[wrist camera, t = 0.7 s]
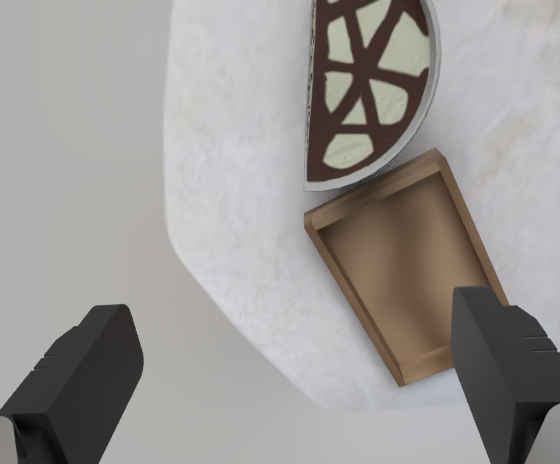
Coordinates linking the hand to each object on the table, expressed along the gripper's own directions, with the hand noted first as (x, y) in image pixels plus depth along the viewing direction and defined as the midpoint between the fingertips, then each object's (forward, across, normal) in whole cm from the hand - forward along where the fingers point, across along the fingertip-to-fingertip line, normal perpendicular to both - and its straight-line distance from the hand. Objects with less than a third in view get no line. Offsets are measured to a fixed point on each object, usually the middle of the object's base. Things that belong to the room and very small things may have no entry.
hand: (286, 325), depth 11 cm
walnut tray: (+22, -7, +12) cm, 26 cm away
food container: (+22, -4, -4) cm, 23 cm away
